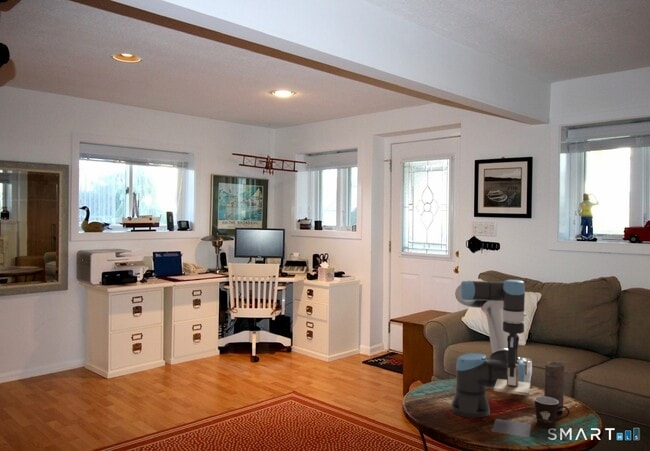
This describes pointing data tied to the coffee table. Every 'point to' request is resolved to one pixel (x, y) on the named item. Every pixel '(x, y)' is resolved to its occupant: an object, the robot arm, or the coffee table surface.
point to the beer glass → (527, 369)
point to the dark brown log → (554, 381)
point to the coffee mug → (547, 411)
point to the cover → (520, 387)
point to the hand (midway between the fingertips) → (512, 382)
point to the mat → (512, 428)
